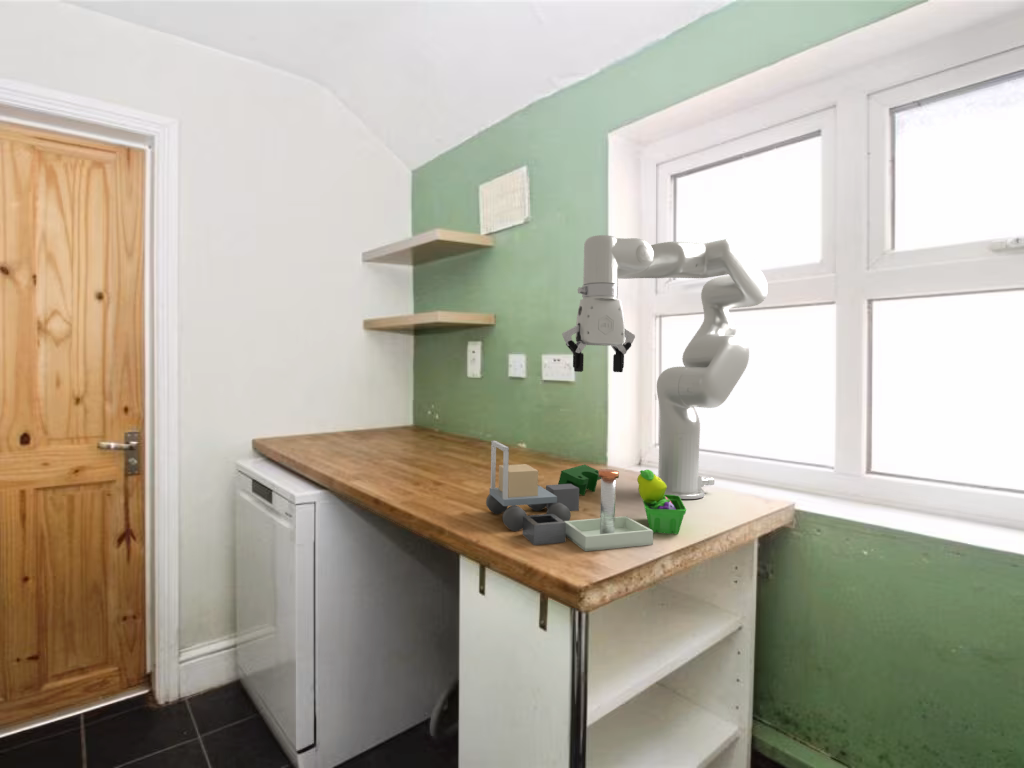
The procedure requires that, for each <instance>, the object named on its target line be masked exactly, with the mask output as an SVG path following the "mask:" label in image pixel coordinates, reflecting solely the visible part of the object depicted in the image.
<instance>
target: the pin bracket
mask: <svg viewBox="0 0 1024 768" xmlns="http://www.w3.org/2000/svg"><path fill="white" fill-rule="evenodd" d="M522 535H523V536H524V538H526V539H527V541H529V542H530V543H531V544H532V545H533V546H540V545H549V544H550V545H551V544H560V543H561V544H562V543H567V541H566V539H567V537H566V523H565V522H564V521H563V520H561V519H560V518H558V517H557V516H556V515H554V514H546V513H542V514H534V515H533V514H529V515H527V516H523V529H522Z"/></svg>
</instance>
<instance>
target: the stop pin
mask: <svg viewBox="0 0 1024 768" xmlns="http://www.w3.org/2000/svg"><path fill="white" fill-rule="evenodd" d="M598 471H599V477H601V479H600V509H599V510H600V511H599V512H600V513H599V514H600V515H599V518H600V534H608V533H614V530H615V517H616V490H617V489H616V485H617V483H616V482H617V479H619V476H620V471H619V470H618V469H617V470H616V469H608V468H607V469H606V468H603V469H599V470H598Z"/></svg>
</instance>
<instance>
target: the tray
mask: <svg viewBox="0 0 1024 768" xmlns="http://www.w3.org/2000/svg"><path fill="white" fill-rule="evenodd" d="M564 522H565V523H566V539H567V538H568V540H570V541H571V542H573V543H574V544H575V545H577V546H578V547H579V548H580V549H582V550H583V551H584V552H591V551H601V550H602V551H603V550H611V549H620V548H621V549H622V548H629V547H630V548H632V547H641V546H649V545H650V546H652V545H653V543H654V541H653V539H654V533H653V530H651V529H650V528H649V527H647V526H646V525H643V524H641V523H640V522H638V521H636V520H635V519H632V518H631V517H629V516H628V515H624V516H623V515H622V516H615V530H614V533H608V534H600V517H599V518H598V517H597V518H586V519H584V518H583V519H573V520H569V521H564Z"/></svg>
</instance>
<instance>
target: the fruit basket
mask: <svg viewBox="0 0 1024 768" xmlns="http://www.w3.org/2000/svg"><path fill="white" fill-rule="evenodd" d="M637 484H638V494H639V496H640V497H641V499H642V502H643V505H644V510H645V515H646V519H647V523H648V528H649V529H651V530H653V534H654V533H657V534H667V535H668V534H669V535H670V534H673V535H678V534H679V533H680V530H681V527H682V522H683V519H684V516H685V515H686V512H687V508H686V506H685V505H684V503H683V500H682V499H680V497H679V496H676V495H664V494H665V491H666V488H667V486H666V484H665V482H664V481H662V480H661V479H660V478H659V477H658V475H656V474H655V473H654V472H653V471H652V470H651V469H645V470H643V469H641V470H640V471H639V474H638V477H637Z"/></svg>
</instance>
